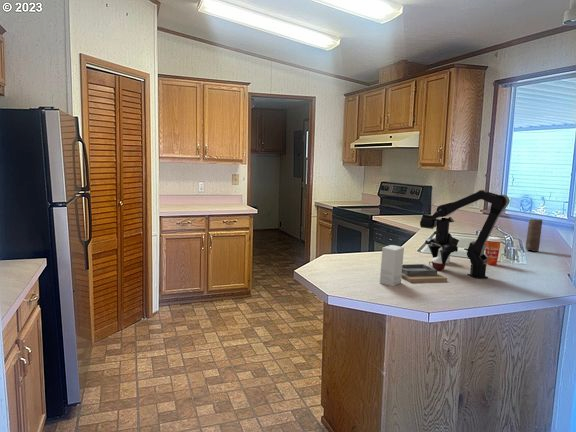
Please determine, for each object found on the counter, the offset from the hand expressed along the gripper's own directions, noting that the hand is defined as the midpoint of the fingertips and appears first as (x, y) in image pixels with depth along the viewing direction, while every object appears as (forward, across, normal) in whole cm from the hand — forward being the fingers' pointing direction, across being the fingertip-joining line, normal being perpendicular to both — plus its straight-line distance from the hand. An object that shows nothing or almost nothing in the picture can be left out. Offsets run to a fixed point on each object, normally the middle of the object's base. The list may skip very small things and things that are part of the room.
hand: (439, 262), depth 211 cm
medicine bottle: (+4, +15, -11) cm, 19 cm away
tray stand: (+4, -9, +18) cm, 20 cm away
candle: (+4, +37, -89) cm, 96 cm away
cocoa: (+4, 0, 0) cm, 4 cm away
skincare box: (+4, -20, +36) cm, 41 cm away
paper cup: (+4, +8, -36) cm, 37 cm away
